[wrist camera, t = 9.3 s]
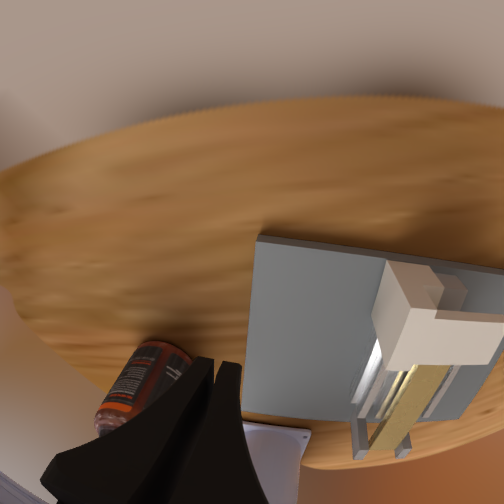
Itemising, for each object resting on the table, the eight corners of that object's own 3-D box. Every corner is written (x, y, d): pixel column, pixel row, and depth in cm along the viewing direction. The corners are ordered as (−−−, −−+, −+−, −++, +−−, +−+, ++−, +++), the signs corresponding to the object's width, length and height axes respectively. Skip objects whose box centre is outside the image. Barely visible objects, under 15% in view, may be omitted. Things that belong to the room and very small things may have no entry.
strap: (394, 442, 20) (395, 449, 20) (368, 442, 21) (368, 450, 20) (466, 315, 15) (471, 323, 14) (435, 313, 15) (439, 321, 15)
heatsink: (424, 391, 22) (432, 417, 19) (349, 389, 23) (352, 417, 20) (458, 326, 19) (472, 351, 16) (375, 319, 20) (383, 348, 17)
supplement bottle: (126, 355, 27) (66, 446, 16) (159, 325, 24) (92, 433, 14) (174, 394, 28) (131, 490, 18) (212, 371, 26) (172, 484, 15)
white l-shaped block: (456, 321, 19) (484, 370, 14) (370, 314, 20) (385, 370, 15) (476, 272, 17) (513, 315, 12) (386, 259, 18) (411, 307, 13)
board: (455, 410, 24) (469, 453, 19) (243, 400, 27) (230, 452, 21) (528, 273, 18) (566, 311, 12) (258, 234, 20) (242, 277, 15)
